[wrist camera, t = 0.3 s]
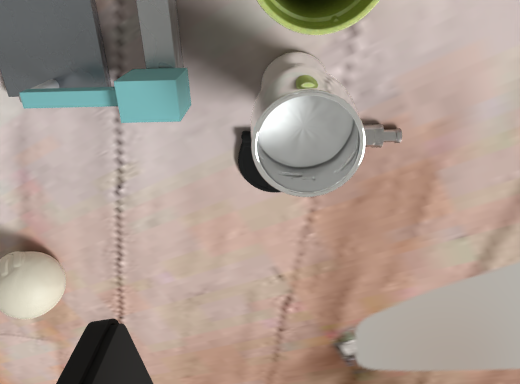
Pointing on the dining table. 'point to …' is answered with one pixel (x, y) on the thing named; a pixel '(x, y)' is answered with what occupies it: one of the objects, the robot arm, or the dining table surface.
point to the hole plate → (51, 44)
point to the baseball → (30, 284)
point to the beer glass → (305, 128)
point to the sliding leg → (123, 95)
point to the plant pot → (317, 14)
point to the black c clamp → (252, 175)
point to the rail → (160, 33)
